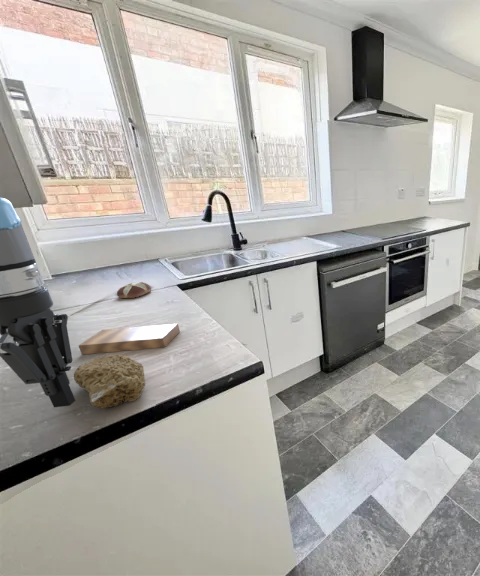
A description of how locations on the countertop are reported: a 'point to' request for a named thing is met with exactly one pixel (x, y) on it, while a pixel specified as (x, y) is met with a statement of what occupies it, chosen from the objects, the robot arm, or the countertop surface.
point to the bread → (133, 290)
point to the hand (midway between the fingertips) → (64, 403)
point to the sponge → (111, 380)
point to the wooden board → (129, 339)
